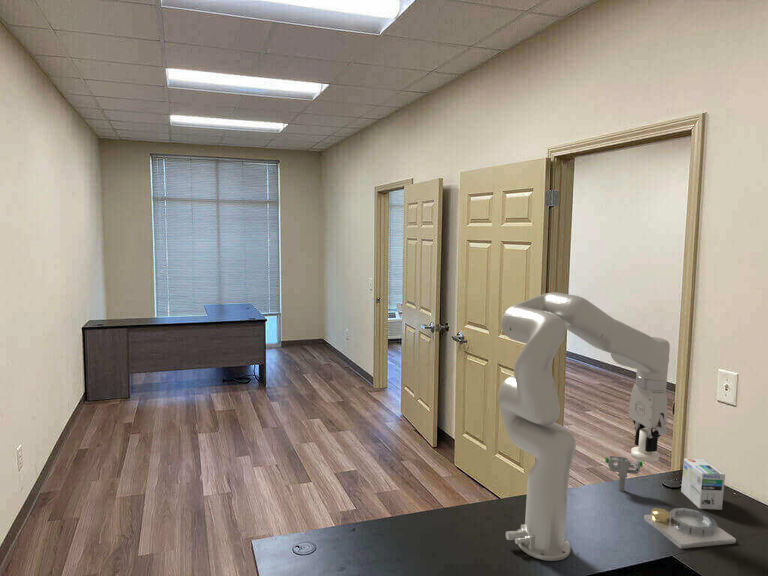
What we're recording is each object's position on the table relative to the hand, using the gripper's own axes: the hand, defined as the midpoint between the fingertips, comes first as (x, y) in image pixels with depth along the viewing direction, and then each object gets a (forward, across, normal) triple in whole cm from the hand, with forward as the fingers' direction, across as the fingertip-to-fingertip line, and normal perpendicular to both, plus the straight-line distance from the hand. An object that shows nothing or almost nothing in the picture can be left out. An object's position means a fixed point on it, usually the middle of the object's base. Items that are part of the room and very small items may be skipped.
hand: (645, 447), depth 152 cm
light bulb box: (+20, -4, +24) cm, 31 cm away
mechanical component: (+20, -13, +4) cm, 24 cm away
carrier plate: (+19, +10, +7) cm, 23 cm away
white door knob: (+3, 0, 0) cm, 3 cm away
